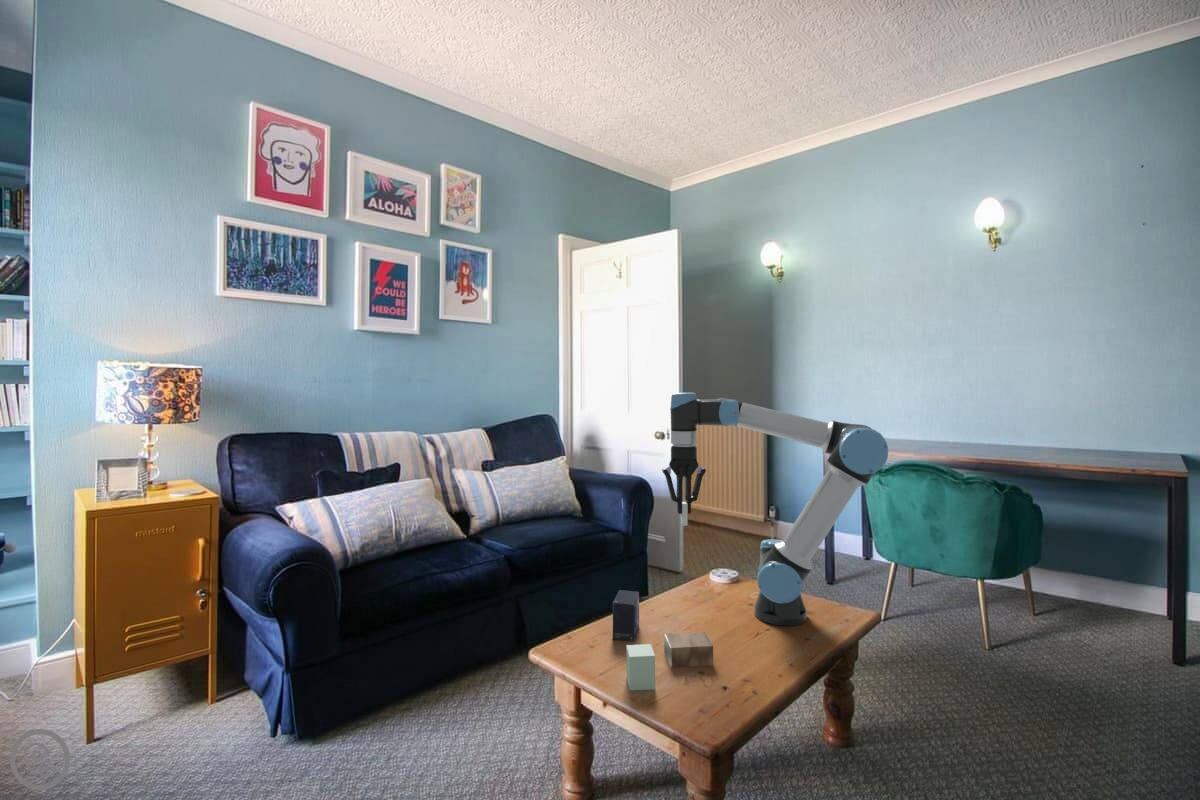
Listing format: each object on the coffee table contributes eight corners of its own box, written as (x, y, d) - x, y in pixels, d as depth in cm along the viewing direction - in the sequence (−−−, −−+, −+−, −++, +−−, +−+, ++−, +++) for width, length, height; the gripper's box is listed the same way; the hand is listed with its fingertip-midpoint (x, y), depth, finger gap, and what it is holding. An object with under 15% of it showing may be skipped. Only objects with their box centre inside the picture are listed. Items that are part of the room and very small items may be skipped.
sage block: (651, 676, 142) (650, 644, 142) (655, 689, 136) (655, 655, 136) (626, 677, 142) (626, 645, 141) (629, 690, 136) (629, 656, 135)
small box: (635, 641, 161) (634, 604, 161) (611, 639, 162) (611, 602, 162) (640, 625, 171) (639, 590, 171) (618, 624, 173) (618, 589, 172)
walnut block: (664, 652, 154) (705, 650, 155) (670, 667, 146) (713, 665, 147) (664, 634, 154) (705, 632, 155) (670, 647, 146) (713, 646, 147)
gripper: (702, 443, 176) (702, 521, 176) (659, 444, 175) (660, 522, 175) (708, 446, 168) (709, 527, 169) (664, 446, 167) (664, 528, 168)
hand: (684, 524), depth 172 cm, fingers closed
